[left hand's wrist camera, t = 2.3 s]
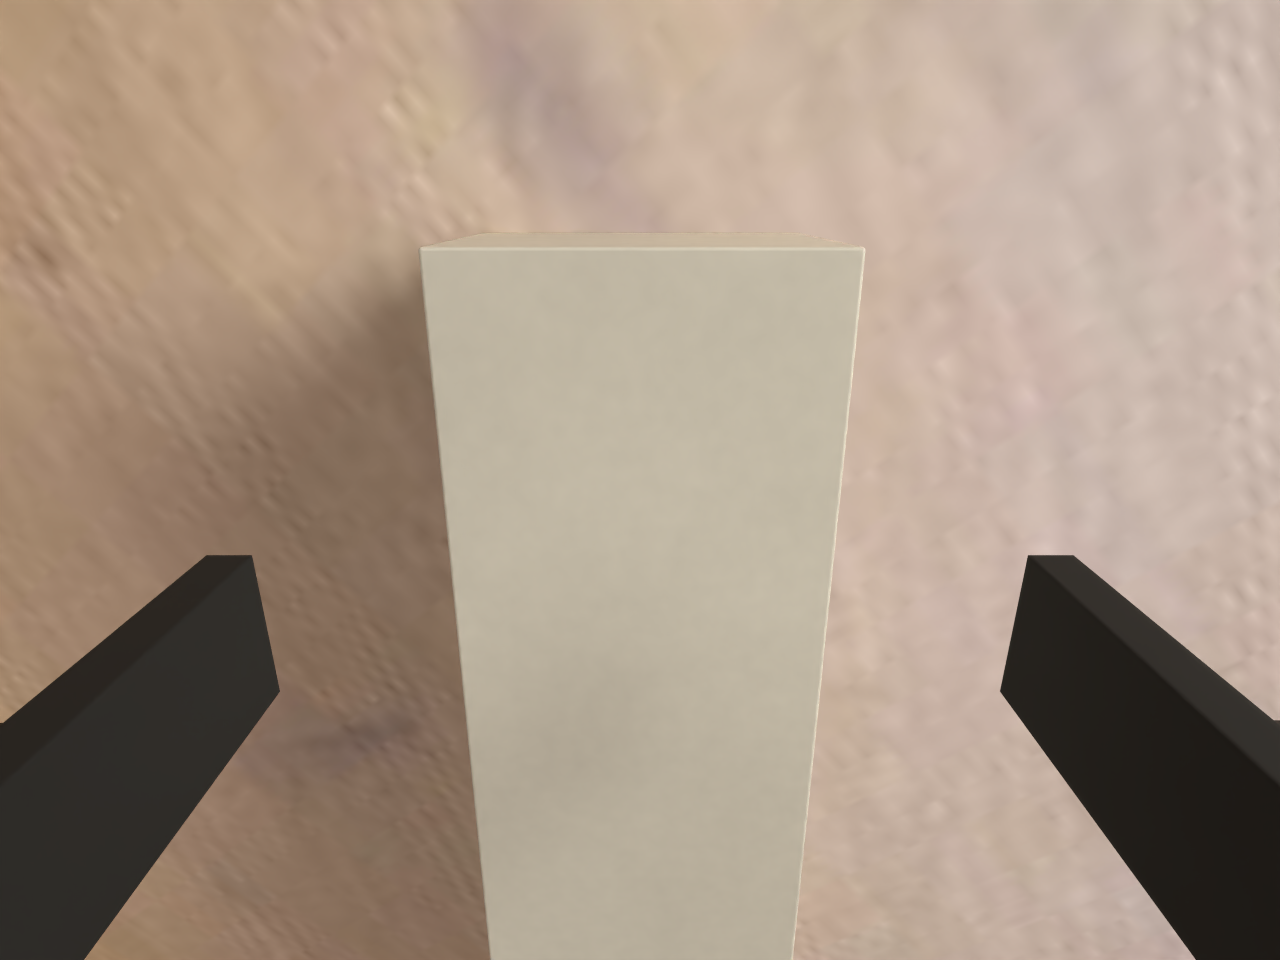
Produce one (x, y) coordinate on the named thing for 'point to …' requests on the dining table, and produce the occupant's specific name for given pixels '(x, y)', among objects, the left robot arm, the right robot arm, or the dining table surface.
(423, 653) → the dining table surface
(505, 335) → the slab
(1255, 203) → the dining table surface
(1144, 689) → the left robot arm
